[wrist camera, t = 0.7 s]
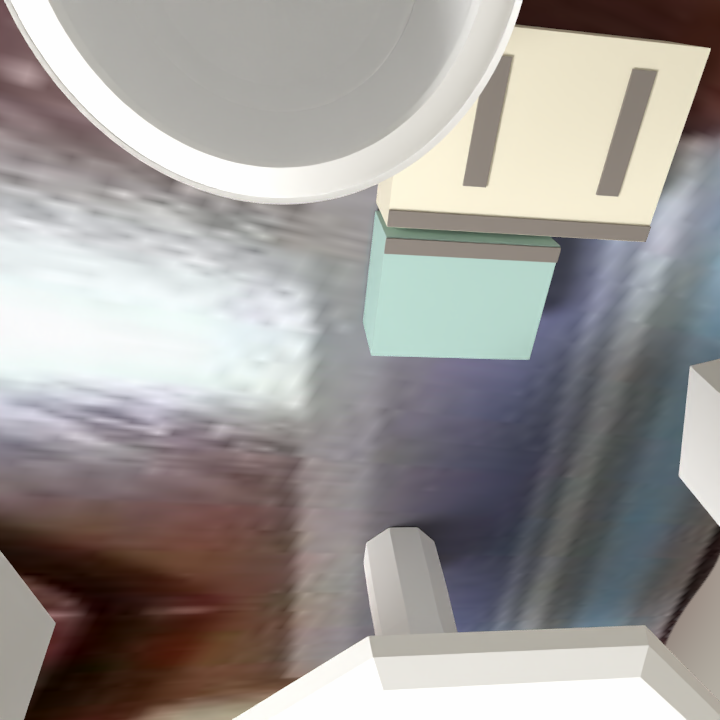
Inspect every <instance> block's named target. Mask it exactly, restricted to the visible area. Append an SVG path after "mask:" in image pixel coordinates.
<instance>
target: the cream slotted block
mask: <svg viewBox="0 0 720 720" xmlns="http://www.w3.org/2000/svg"><path fill="white" fill-rule="evenodd" d="M710 50H711V48H706V47H700V46H693V45H687V44H681V43H675V42H669V41H662V40H653V39H644V38H634V37H625V36H616V35H607V34H598V33H589V32H580V31H571V30H562V29H553V28H544V27H534V26H525V25H516V24H515V26H514V29H513V31H512V34H511V37H510V39H509V41H508V44H507V46H506V48H505V51H504V53H503V55H502V57H501V59H500V61H499V63H498V65H497V67H496V69H495V71H494V73H493V74H492V76H491V78H490V80H489V81H488V83H487V85H486V86H485V88H484V89H483V91H482V92H481V94H480V95H479V97H478V98H477V100H476V101H475V103H474V104H473V105H472V107H471V108H470V109H469V111H468V112H467V113H466V114H465V116H464V117H463V118H462V119H461V120H460V122H459V123H458V124H457V125H456V126H455V127H454V128H453V129H452V130H451V131H450V132H449V133H448V135H446V136H445V137H444V138H443V139H442V140H441V141H440V142H439V143H438V144H437V145H436V146H435V147H434V148H432V149H431V150H430V151H429V152H428V153H426V154H425V155H424V156H423V157H421V158H420V159H419V160H417V161H416V162H414V163H413V164H412V165H410V166H409V167H407V168H406V169H404V170H402V171H401V172H399V173H397V174H396V175H394V176H392V177H390V178H388V179H386V180H384V181H382V182H380V183H378V190H377V199H376V203H377V205H378V207H379V210H380V212H381V214H382V217H383V219H384V221H385V223H386V226H387V227H400V228H417V229H434V230H451V231H468V232H485V233H502V234H519V235H536V236H553V237H571V238H588V239H605V240H622V241H639V242H646V240H647V237H648V234H649V231H650V228H651V227H650V223H651V220H652V218H653V215H654V212H655V209H656V206H657V203H658V200H659V197H660V194H661V192H662V189H663V186H664V183H665V180H666V177H667V174H668V171H669V168H670V166H671V163H672V160H673V157H674V154H675V151H676V148H677V145H678V142H679V140H680V137H681V134H682V131H683V128H684V125H685V122H686V119H687V116H688V114H689V111H690V108H691V105H692V102H693V99H694V96H695V93H696V90H697V88H698V85H699V82H700V79H701V76H702V73H703V70H704V67H705V64H706V62H707V59H708V56H709V53H710Z"/></svg>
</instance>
